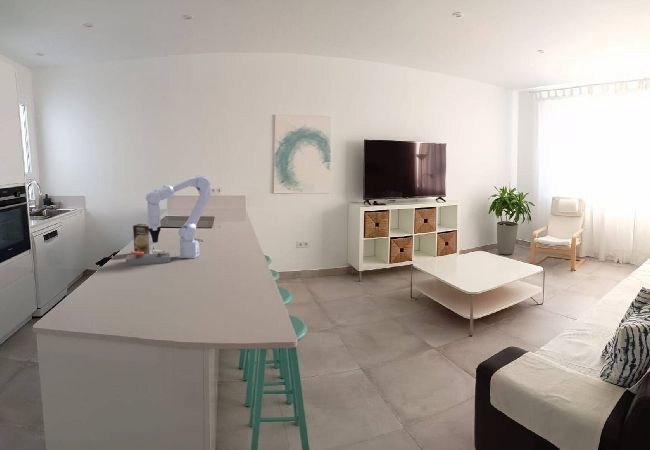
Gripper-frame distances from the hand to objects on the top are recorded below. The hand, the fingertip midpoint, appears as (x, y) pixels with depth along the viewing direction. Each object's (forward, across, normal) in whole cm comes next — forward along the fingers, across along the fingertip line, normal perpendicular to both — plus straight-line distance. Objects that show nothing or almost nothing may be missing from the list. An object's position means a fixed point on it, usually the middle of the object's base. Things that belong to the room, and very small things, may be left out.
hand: (155, 242), depth 205 cm
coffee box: (+10, -17, -5) cm, 20 cm away
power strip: (+9, +3, -4) cm, 10 cm away
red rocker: (+5, +1, -8) cm, 10 cm away
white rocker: (+5, +1, +2) cm, 5 cm away
